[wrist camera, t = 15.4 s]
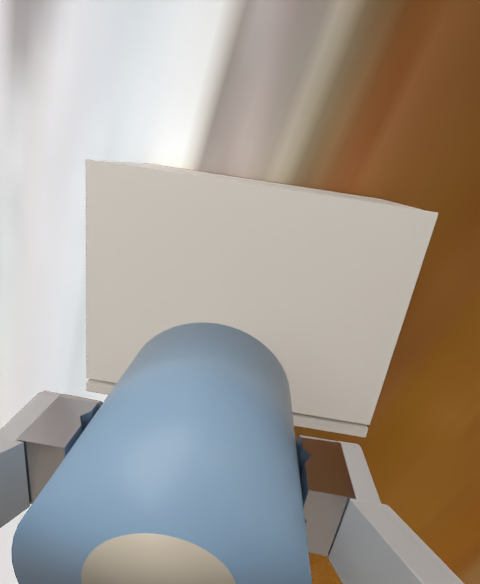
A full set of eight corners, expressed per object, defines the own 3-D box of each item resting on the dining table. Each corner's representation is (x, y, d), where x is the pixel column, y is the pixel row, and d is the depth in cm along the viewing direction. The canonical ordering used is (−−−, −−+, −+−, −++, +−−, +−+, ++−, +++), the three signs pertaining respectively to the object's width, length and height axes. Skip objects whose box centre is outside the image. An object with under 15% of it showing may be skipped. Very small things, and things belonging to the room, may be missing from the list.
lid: (104, 162, 18) (85, 159, 16) (419, 209, 17) (438, 212, 15) (102, 372, 22) (86, 391, 20) (356, 414, 21) (365, 437, 19)
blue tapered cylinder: (131, 308, 9) (-7, 449, 5) (306, 337, 9) (349, 511, 5) (126, 444, 11) (21, 649, 6) (273, 469, 11) (280, 696, 6)
